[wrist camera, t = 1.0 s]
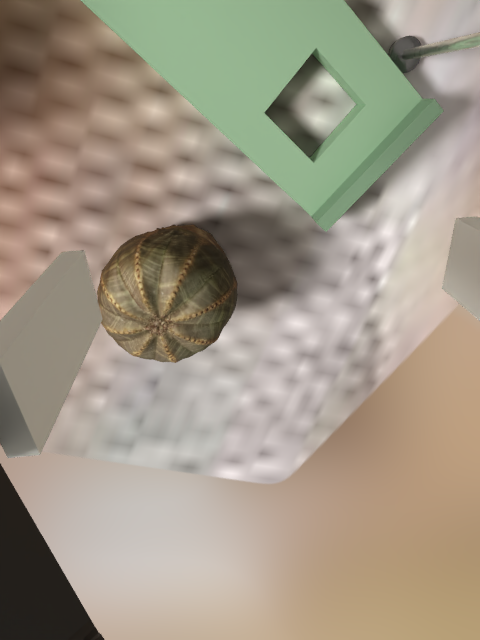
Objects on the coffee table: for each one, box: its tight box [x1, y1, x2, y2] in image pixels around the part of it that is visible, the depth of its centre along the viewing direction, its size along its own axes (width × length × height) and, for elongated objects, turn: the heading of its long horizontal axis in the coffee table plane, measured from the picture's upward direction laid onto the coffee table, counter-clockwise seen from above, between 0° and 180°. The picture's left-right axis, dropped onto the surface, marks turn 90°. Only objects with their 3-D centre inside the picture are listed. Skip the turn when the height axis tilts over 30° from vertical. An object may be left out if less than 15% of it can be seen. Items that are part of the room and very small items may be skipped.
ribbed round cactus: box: [97, 225, 237, 363], centre depth 35 cm, size 11×11×12 cm
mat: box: [81, 0, 444, 231], centre depth 30 cm, size 26×12×4 cm, turn 49°
